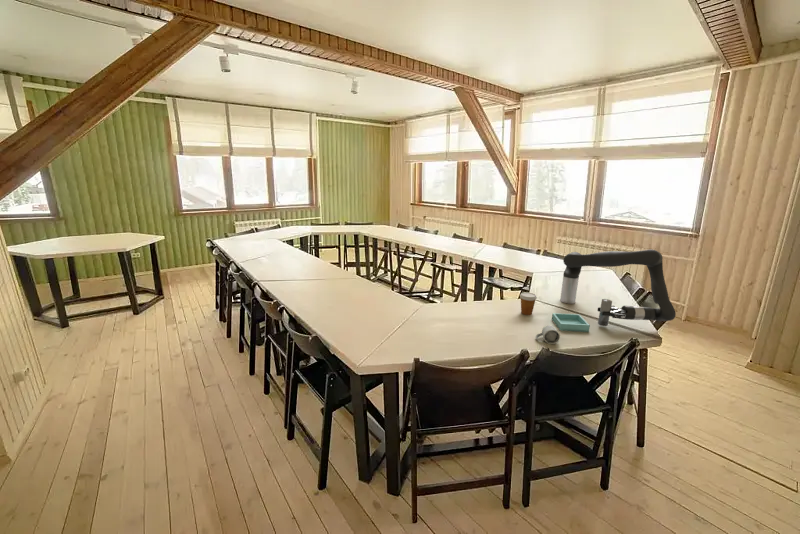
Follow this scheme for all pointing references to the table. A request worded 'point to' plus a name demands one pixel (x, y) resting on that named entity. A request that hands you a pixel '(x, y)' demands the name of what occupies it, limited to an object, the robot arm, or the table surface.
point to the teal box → (570, 322)
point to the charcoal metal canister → (605, 306)
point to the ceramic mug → (549, 335)
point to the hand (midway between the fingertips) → (600, 311)
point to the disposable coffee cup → (527, 303)
